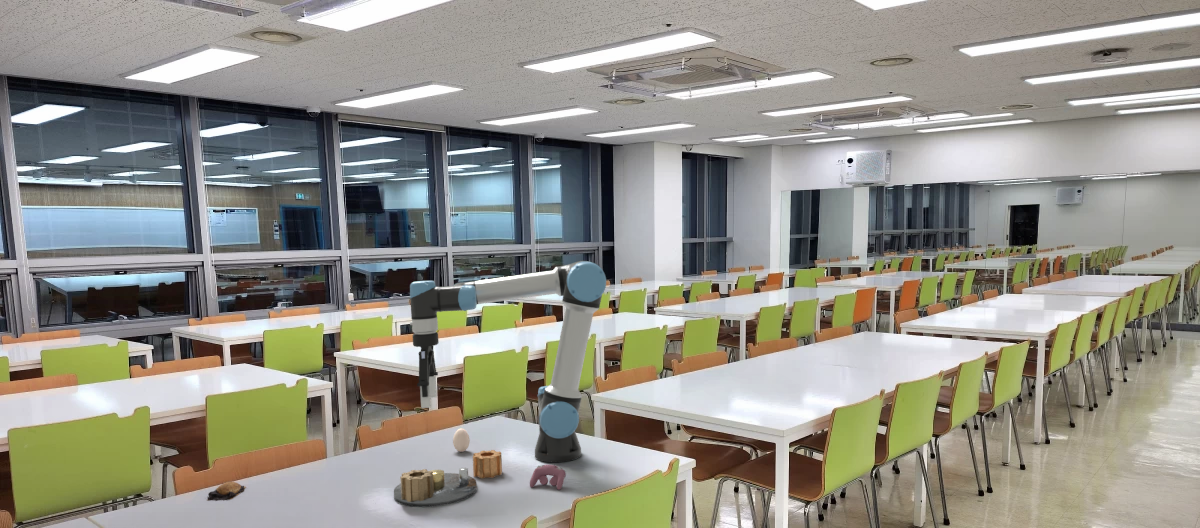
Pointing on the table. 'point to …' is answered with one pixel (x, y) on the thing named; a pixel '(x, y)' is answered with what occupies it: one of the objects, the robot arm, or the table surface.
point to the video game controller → (545, 470)
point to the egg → (461, 440)
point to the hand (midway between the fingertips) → (429, 402)
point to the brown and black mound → (226, 491)
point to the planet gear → (487, 464)
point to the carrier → (434, 487)
